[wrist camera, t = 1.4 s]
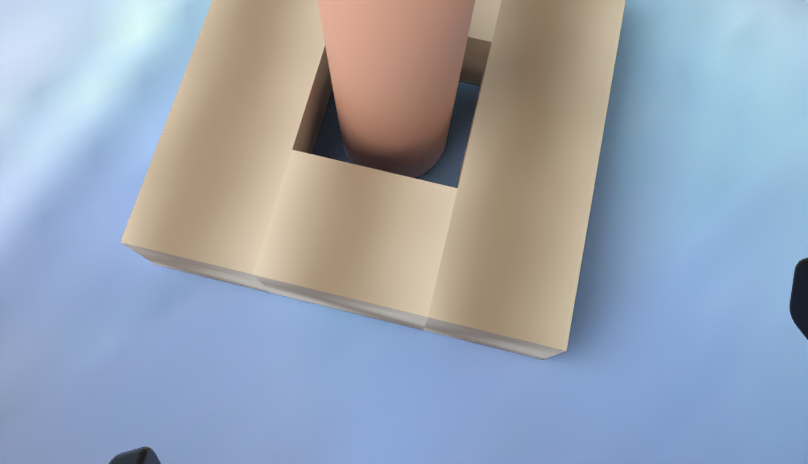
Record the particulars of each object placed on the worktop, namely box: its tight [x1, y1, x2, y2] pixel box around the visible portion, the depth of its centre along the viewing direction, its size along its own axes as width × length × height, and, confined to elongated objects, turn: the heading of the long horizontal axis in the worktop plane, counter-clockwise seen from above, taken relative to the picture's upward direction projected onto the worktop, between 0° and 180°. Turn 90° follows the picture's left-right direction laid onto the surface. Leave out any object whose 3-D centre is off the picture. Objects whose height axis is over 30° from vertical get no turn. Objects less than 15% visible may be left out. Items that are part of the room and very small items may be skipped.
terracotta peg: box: [317, 0, 475, 178], centre depth 19 cm, size 4×4×12 cm
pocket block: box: [121, 0, 626, 360], centre depth 23 cm, size 14×14×3 cm
